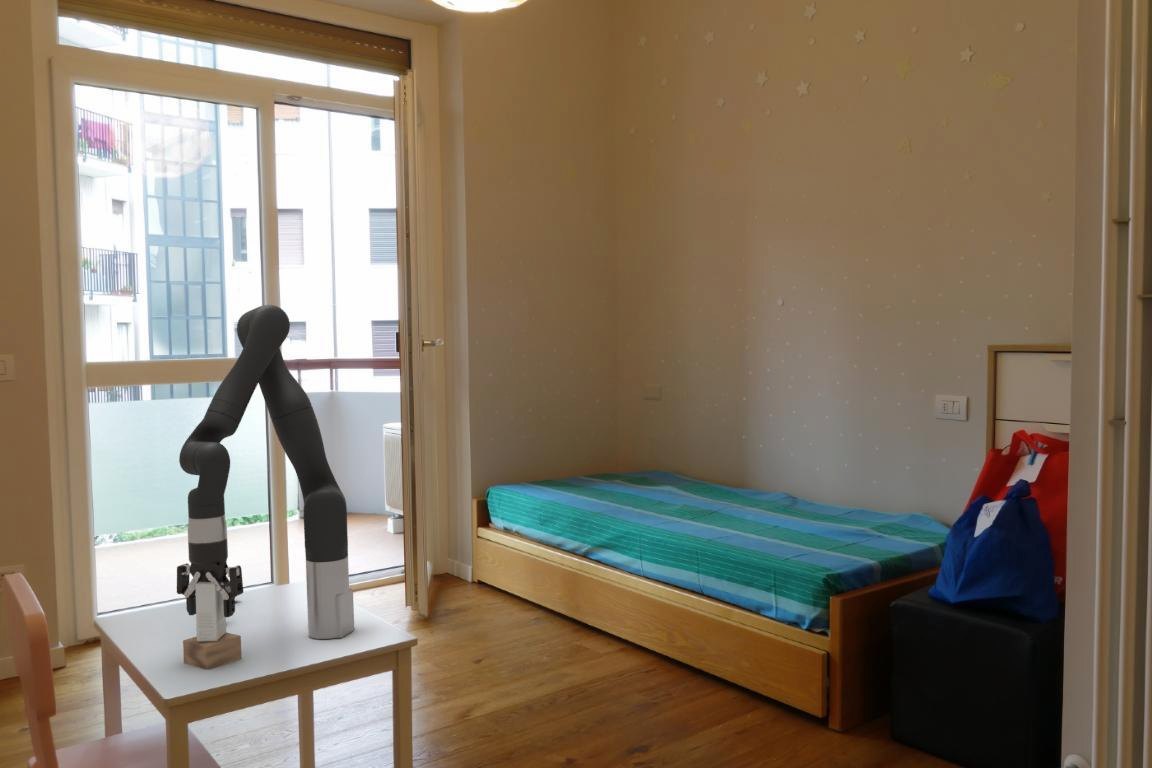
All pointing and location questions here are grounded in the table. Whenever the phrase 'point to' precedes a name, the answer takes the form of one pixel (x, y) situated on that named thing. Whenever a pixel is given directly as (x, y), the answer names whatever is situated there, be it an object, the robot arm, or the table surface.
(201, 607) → the skincare box
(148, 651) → the table surface
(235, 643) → the walnut riser block
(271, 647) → the table surface
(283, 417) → the robot arm
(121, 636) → the table surface
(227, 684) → the table surface
